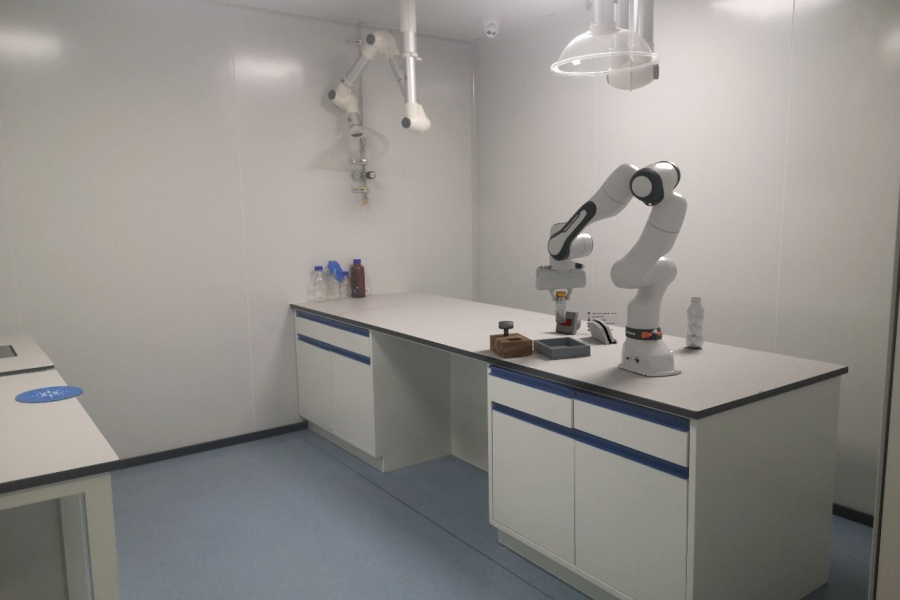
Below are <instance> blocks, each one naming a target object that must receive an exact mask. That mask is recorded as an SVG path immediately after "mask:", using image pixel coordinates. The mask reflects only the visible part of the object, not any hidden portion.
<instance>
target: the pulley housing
mask: <svg viewBox="0 0 900 600" xmlns="http://www.w3.org/2000/svg"><path fill="white" fill-rule="evenodd" d="M498 329H499V330H503V333H500V334H489V350H490V351H491V352H493V353H495V354H496V355H498V356H499V357H502V358H503V359H509V358H519V357H530V356H529V355H532V356H534V352H533V351H534V350H533V340H534V339H530V338H529V337H527V336H525V335H523V334H520V333H518V332H510V331H509V330H512V329H514V321H512V320H500V321H498ZM509 332H510V333H509Z"/></svg>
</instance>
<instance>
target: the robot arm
mask: <svg viewBox="0 0 900 600" xmlns="http://www.w3.org/2000/svg"><path fill="white" fill-rule="evenodd" d="M681 174H682V172H681V169H680V168H679V166H678V165H677V164H675V163H674V162H672V161H668V160H661V161H657V162H653V163H650V164H648V165H646V166H643V168H638V166H636V165H634V164H631V163H622V164H620V165H619V166H618V167H616V169H614V170H613V171H612V172H611V173H610V175H608V176H607V178H606V179H605V181H604V182H603V184H602V185H600V187H599V188H598V190H597V191H596V192H595V193H594V194H593V195H592V196H591V197H590V198H589V199H588V200H587V201H586V202H585V203H584V204H582V205H581V206H580V207H579V208H578V209H577V210H576V211H575V212H574V214H573V215H572V216H571V217H570V218H569V219H568V221H566V222H558V223H554V224H552V226H551V227H550V230H549V231H550V232H549V239H548V242H547V251H548V254H549V256H548V257H549V258H548V260H549V264H548V265H540V266H538V267H537V268H536V270H535V282H534V283H535V285H534V287H535V289H537V291H548V293H549V295H550V296H551V301H552V302H555V301H557V296H555V290H566V301H569V300H570V299H571V298H570V297H571V294H572V293H573V290H574V289H579V288H585V287H586V286H587V274H586V273H587V272H586V271H585V270H584V269H585V263H583V262H579V261H576V260H573V259H577V258H578V259H579V258H585V257H588V256H590V255H591V254H592V251H593V249H594V240H593V237H592V236H591V235H590V233H588V232H584V230H585V229H586V228H587V227H589V226H590V225H591V224H593V223H596V222H598V221H602V220H605V219H609V218H613V217H615V216H617V215H618V214H620V213H621V212H622V211H623V210H625V209H626V208H627V206H628V205H629V203H630V202H631V200H632V199H633V198H636V199H637V200H638V201H640V202H642V203H643V204H644V205H645V206H648V207H651V211H650V214H649V215H648V218H647V220H646V223H645V225H644V227H643V230H642V232H641V234H640V236H639V238H638V240H637V241H636V242H635V244H634V245H633V247H632V248H631V249H630V250H629V251H628V252H627V253H626V254H625V255H624V256H623V257H621V258H620V259H619V260H616V261H615V262H614V263H613V264H612V266H611V268H610V279H611V281H612V283H613V285H614V286H615V287H617V288H619V289H624V290H625V289H626V290H634V289H635V290H637V292H636V294H635V296H634V297H633V298H632V299H631V300H630V301H629V302H628V303H627V307H626V326H625V329H624V333H625V337H626V338H625V340H624V342H623V343H622V348H621V349H622V350H621V359H620V363H618V366H617V368H619V369H622V368H623V370H625V369H626V370H625V371H629V372H632V373H635V372H636V373H635V374H638V373H639V375H641V374H642V376H645V375H646V376H645V377H665V376H674V375H678V374H681V373H682V369H681V368H680V367H678V366H676V365H675V358H674V351H673V350H671V349H670V348H669V347H668V345H667V344H666V343H665V341H664V339H663V335H664V334H663V333H664V331H662V329H661V326H660V314H661V306H662V305H661V304H662V301H663V299H664V298H663V297H664V295H665V292H666V291H667V289H668V288H669V286H670V284H672V283H673V282H674V280H676V277H677V275H678V269H677V264H676V263H675V261H674V260H673V258H671V257H668V256H665V255H667V254H669V253H670V252H671V251H672V250H673V247H674V245H675V243H676V240H677V238H678V237H679V234H680V232H681V229H682V227H683V223H684V221H685V217H686V213H687V209H688V201H687V199H686V197H684V196H683V195H682V194H680V193H678V192H677V191H675V189H676V187H677V186H678V185H679V184H680V181H681V177H682V175H681Z"/></svg>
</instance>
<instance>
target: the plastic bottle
mask: <svg viewBox="0 0 900 600" xmlns="http://www.w3.org/2000/svg"><path fill="white" fill-rule="evenodd" d="M701 303H702V298H701V297H696V296H693V297H691V298H690V305H689V306H688V307H687V309H686V316H687V330H686V331H687V332H686V336H685V345H686V346H687V347H688V348H691V349H697V348H698V349H699V348H702V347H703V345H704V336H703V323H704V319H705V318H704V317H705V308H704V306H703V305H702V304H701Z"/></svg>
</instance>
